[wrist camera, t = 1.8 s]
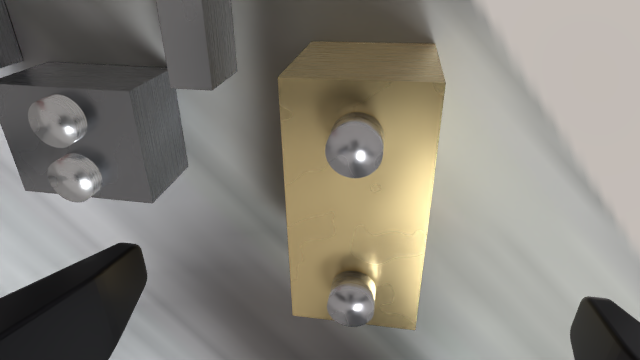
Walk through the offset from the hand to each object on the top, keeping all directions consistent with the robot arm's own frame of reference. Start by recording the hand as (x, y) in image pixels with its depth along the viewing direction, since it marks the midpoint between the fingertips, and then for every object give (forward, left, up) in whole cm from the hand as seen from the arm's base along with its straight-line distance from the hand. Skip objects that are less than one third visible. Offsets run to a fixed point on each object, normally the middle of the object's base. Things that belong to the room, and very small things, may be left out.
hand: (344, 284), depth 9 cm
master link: (0, 0, -6) cm, 6 cm away
